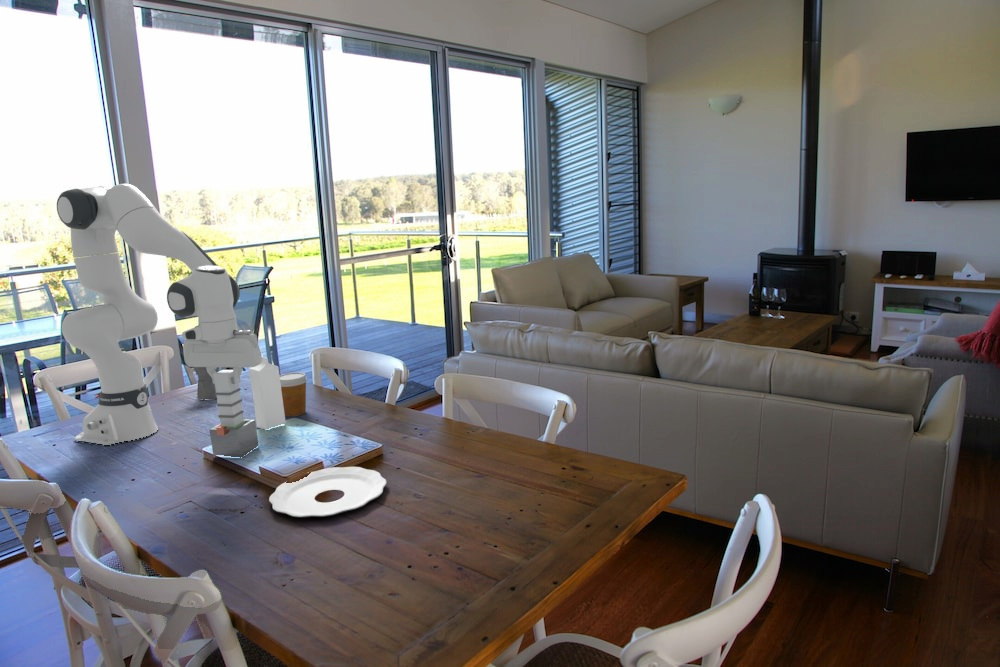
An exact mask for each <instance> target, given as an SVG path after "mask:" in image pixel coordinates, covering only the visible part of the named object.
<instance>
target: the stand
mask: <svg viewBox="0 0 1000 667" xmlns="http://www.w3.org/2000/svg"><path fill="white" fill-rule="evenodd" d="M243 419H244V421H245V424H244V425H242V426H241V427H239V428H237V429H226V426H221V423H219V424H217V425H215V426H213V427H212V428H210V429H208V430H209V435H210V436H209V437H210V442H211V448H212V449H211V450H212V455H213V458H214V459H216V458H215V456H216V455H224V456H231V457H240V458H241V457H243V456H244V455H246V454H247V453H248V452H250V451H251V450H253V449H254V448H256V447H257V446H258V445H259V439H258V438H259V437H258V432H257V423H256V419H247V418H243ZM259 446H260V445H259Z"/></svg>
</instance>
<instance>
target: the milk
mask: <svg viewBox="0 0 1000 667" xmlns="http://www.w3.org/2000/svg"><path fill="white" fill-rule="evenodd" d="M261 357H262V361H261V363H260V364H259V365H258V366H255V367H248V371H249V372H248V373H249V378H250V386H251V393H252V400H253V408H254V414H255V422H256V428H258V429H261V430H263V429H269V428H271V427H275V426H278V425H281V424H285V423H287V422H286V415H285V413H284V406H283V398H282V391H281V383H280V375H281V374H280V368H279V366H278V365H275V364H273V363H270V362H269V359H268V357H267V356H266V357H265V356H262V355H261Z"/></svg>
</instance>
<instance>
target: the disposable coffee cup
mask: <svg viewBox="0 0 1000 667" xmlns="http://www.w3.org/2000/svg"><path fill="white" fill-rule="evenodd" d="M279 375H280V383H281V391H282V398H283V406H284V414H285V417H298V416H301V415H304V414H305V413H306V412H307V411H306V410H307V409H306V406H307V402H306V401H307V398H306V397H307V380H308V377H307V376H306V373H304V372H288V373H283V374H279Z"/></svg>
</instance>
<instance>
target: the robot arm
mask: <svg viewBox="0 0 1000 667" xmlns="http://www.w3.org/2000/svg"><path fill="white" fill-rule="evenodd" d="M56 211H57V214H58V217H59V220H60V221H61V222H62V223H63V225H65V226H66V227H67V228H70V244H71V250H72V256H73V259H74V265H75V268H76V273H77V276H78V282H79V284H80V285H81V286H82V287H83V289H86V290H87V291H88V292H89V291H90V292H92V293H96V294H98V296H100V297H101V300H102V301H103V304H102V305H101V304H100V305H97V306H90V307H84V308H82V309H79V310H76V311H73V312H70V313H68V314H67V315H66V316H64V318H63V321H62V322H61V334H62V337H64V340H65V342H67V343H68V344H69V345H71V346H72V347H73V348H76V349H78V350H80V351H82V352H83V353H84V354H86V356H88V357H89V358H90V359H91V361H92V363H93V364H94V366H95V368H96V373H97V376H98V380H99V385H100V389H101V391H100V392H98V393H96V394H94V395H93V396H94V399H98V402H97V403H98V404H97V405H96V406H95V407H94V408H93V409H92V410H91V411H90V412H88V413H87V414H86V416H85V417H84V418H83V420H82V432H80V433H78V434H77V435H76V436H75V437H74V441H75V440H81V441H86V442H91V443H97V444H103V445H102V446H104V445H110V446H112V445H111V444H114V445H116V444H115V443H118V444H120V443H119V442H122V443H125V442H124V441H128V442H132V441H131V440H133V441H136V440H135V439H137V440H140V439H139V438H141V439H144V438H147V437H149V436H152V435H153V433H154V434H156V433H157V432H158V431H157V430H159V427H158V425H157V422H156V420H155V418H154V416H153V411H152V408H151V405H150V403H149V393H148V386H147V384H146V383H145V381H144V380H145V379H144V375H143V374H144V373H143V368H142V363H141V360H140V359H139V358H138V357H137V356H136V355H134V354H132V353H127V352H123V350H122V349H121V346H120V345H119V343H120V342H121V341H126V340H131V339H135V338H139V337H141V336H143V335H146V334H148V333H150V332H152V331H154V330H155V329H156V326H157V324H158V313H157V310H156V308H155V307H154V306H153V305H152V304H151V303H150V302H149V301H147V300H145V299H144V298H142V297H140V295H138V294H137V293H136V292H135V291H134V290H133V288H131V286H130V285H129V282H128V281H127V278H126V276H125V272H124V268H123V266H122V261H121V258H120V253H119V249H118V244H117V241H116V237H115V236H116V234H115V233H116V231H117V232H118V234H119V235H120V237H121V238H122V240H123V241H124V242H125V243H126V244H127V245H128V246H129V247H130V248H132V250H134V251H136V252H139V253H142V254H147V255H153V256H154V255H155V256H163V257H167V258H172V259H176V260H178V261H180V262H182V263H184V265H186V266H187V268H188V269H189V270H190V271H191V273H190V274H189V275H188V276H187V277H184V278H183V279H180V280H177V281H175V282H172V283H171V284H170V285H169V287H168V289H167V293H166V301H167V302H166V303H167V306H168V308H169V309H170V311H171V312H172V314H174V315H175V316H178V317H179V318H193V317H197V318H198V320H197V321H198V325H196V326H194V327H192V328H190V329H187V330H185V331H183V332H182V333H181V336H182V339H183V340H184V341H183V343H182V344H183V345H182V350H183V358H184V364H186V366H188V367H189V368H193V367H206V369H207V372H208V373H209V375H210V376H211V377H212V382H213V384H215V382H214V376H213V374H214V373H217V372H216V371H215V369H216V367H219V368H226V367H230V368H232V370H233V371H235V374H234V376H233V377H231V383H232V384H239V385H240V383H241V375H242V373H243V370H244V369H243V368H250V367H255V366H258V365H259V364H260V363H261V361H262V357H263V356H262V352H261V349H260V345H259V341H258V336H257V334H256V333H254V332H253V331H252V330H250V329H246V330H241V329H240V330H239V328H238V322H237V315H236V312H235V311H234V309H235V307H236V306H237V304H238V302H239V300H240V296H241V289H240V286H239V284H238V283H237V280H235V278H234V277H232V276H231V275H230V274H229V273H228V271H227V269H226V268H224V267H222V266H219V265H218V264H217V263H216V262H215V261H214V260H213V259H212V258H211V257H210V256H209V255H208V254H207V253H206V252H205V251H204V249H203V248H202V247H201V246H200V245H199V244H198V243H197V242H196V241H195V240H194V239H193V238H192V237H191V236H190V235H188V234H187V233H186V232H185V231H182V230H180V229H179V228H178V227H176V226H174V224H172V223H170V222H169V221H168V220H166V218H164V216H162V214H161V213H160V212H159V211H158V209H157V208H156V206H155V205H154V204H153V203H152V202H151V200H150V199H149V198H148V197H147V196H146V195H145V194H144V192H142V191H141V190H139V189H138V187H137V186H135V185H132V184H129V183H119V184H116V185H113V186H109V185H108V186H101V185H100V186H97V187H87V188H86V187H85V188H81V189H80V188H73V189H71V188H70V189H68V190H64V191H63V192H61V193H60V194H59V196H58V198H57V201H56ZM261 356H262V357H261ZM151 434H152V435H151ZM146 436H147V437H146ZM143 437H144V438H143ZM91 443H90V444H91ZM97 444H96V445H97Z"/></svg>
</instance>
